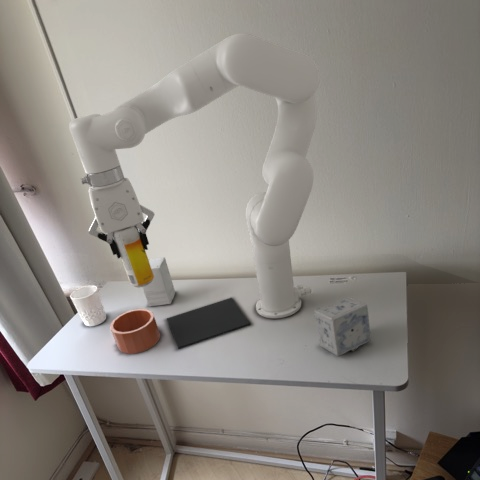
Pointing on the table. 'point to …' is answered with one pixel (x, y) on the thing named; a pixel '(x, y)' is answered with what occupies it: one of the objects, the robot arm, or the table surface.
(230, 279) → the table surface
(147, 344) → the pot
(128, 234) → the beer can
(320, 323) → the incense holder
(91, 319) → the white cup
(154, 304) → the white packaging box
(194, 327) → the mat
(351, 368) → the table surface
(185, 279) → the table surface
